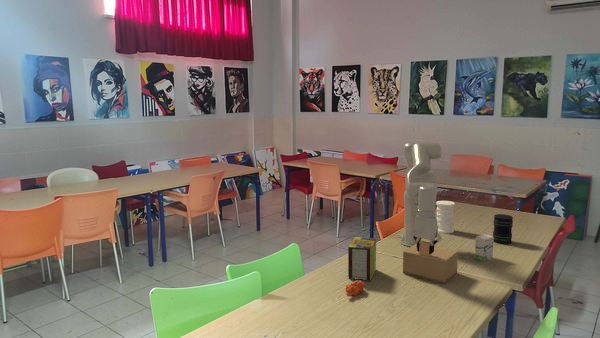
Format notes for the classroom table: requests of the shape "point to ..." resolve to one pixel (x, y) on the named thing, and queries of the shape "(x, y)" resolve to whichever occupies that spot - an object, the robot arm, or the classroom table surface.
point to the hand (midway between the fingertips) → (425, 251)
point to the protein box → (362, 258)
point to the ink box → (484, 247)
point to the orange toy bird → (355, 287)
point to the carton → (430, 268)
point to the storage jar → (502, 229)
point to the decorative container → (445, 216)
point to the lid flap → (438, 253)
